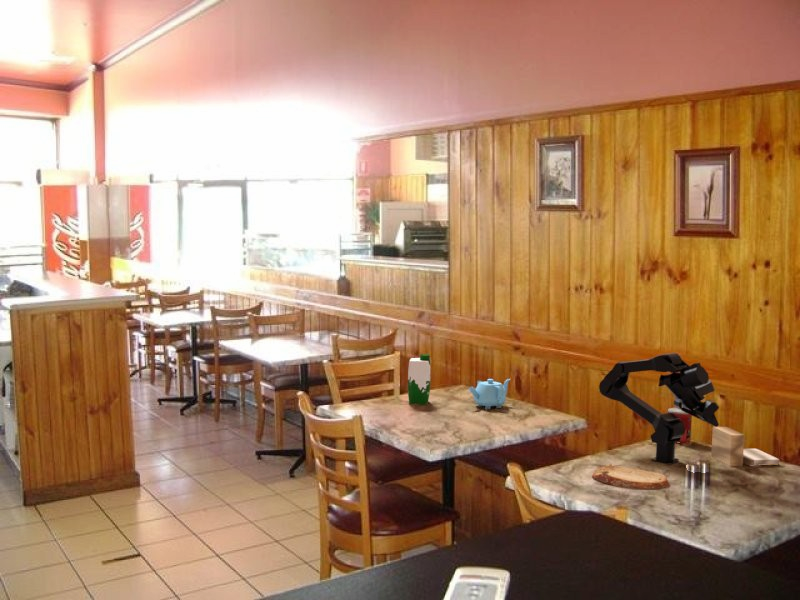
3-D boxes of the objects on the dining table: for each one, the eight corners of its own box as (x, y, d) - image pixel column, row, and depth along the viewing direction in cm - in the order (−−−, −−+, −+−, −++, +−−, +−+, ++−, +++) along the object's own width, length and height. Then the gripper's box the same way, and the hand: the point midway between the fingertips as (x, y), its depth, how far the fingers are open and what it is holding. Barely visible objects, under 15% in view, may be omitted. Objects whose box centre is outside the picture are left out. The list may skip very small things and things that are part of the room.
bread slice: (674, 486, 251) (675, 473, 250) (628, 494, 242) (629, 481, 241) (630, 470, 266) (630, 458, 266) (585, 477, 257) (586, 465, 257)
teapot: (477, 401, 361) (478, 374, 360) (510, 404, 356) (510, 377, 355) (467, 408, 347) (468, 380, 345) (500, 412, 342) (501, 383, 341)
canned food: (691, 444, 298) (693, 413, 297) (667, 442, 299) (669, 411, 298) (688, 438, 305) (690, 408, 304) (665, 437, 307) (667, 407, 306)
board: (750, 466, 272) (750, 460, 272) (727, 455, 285) (728, 449, 284) (779, 465, 274) (779, 459, 273) (755, 454, 286) (755, 448, 286)
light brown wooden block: (729, 466, 272) (731, 435, 271) (711, 456, 282) (712, 426, 282) (742, 465, 272) (744, 434, 272) (723, 456, 283) (725, 426, 282)
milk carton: (428, 405, 351) (429, 356, 349) (406, 404, 352) (407, 355, 350) (430, 400, 359) (431, 353, 357) (409, 399, 361) (410, 352, 359)
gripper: (715, 377, 264) (745, 411, 267) (684, 366, 282) (713, 399, 285) (689, 402, 263) (720, 437, 266) (660, 390, 281) (689, 422, 284)
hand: (711, 423), depth 275 cm, fingers open, 7 cm apart
